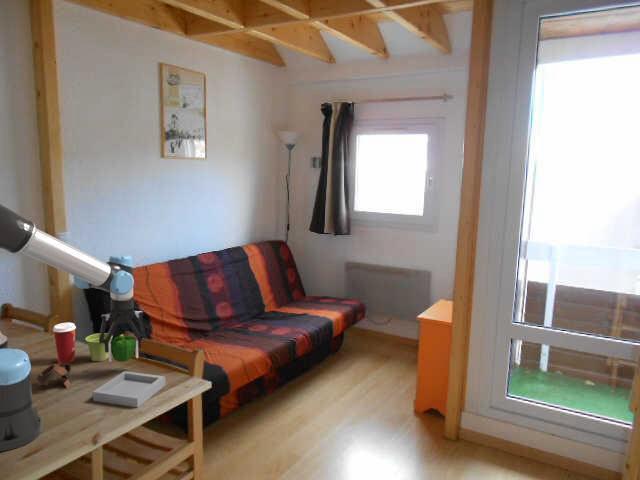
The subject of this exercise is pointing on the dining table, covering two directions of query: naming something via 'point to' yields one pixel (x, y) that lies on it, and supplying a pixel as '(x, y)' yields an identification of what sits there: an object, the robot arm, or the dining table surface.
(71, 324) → the paper cup
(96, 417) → the dining table surface
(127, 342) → the bell pepper
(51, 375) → the pottery mug
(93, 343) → the plant pot
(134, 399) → the gray square tray
